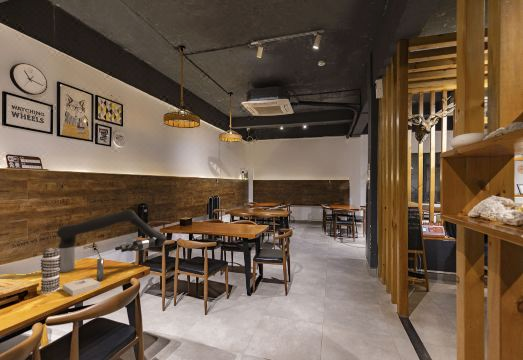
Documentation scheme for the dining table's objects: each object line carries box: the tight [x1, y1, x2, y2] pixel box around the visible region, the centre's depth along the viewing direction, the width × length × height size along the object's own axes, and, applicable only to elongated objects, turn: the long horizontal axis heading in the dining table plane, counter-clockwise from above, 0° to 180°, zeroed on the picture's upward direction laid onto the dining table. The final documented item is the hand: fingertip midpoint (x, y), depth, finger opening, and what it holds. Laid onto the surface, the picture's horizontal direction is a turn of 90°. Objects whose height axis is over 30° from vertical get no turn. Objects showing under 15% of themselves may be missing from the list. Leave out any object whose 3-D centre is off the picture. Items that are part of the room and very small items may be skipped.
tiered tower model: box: [40, 247, 61, 295], centre depth 146 cm, size 9×9×25 cm
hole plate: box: [61, 276, 101, 297], centre depth 149 cm, size 16×14×3 cm
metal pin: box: [96, 258, 104, 283], centre depth 161 cm, size 4×4×14 cm
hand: (118, 249), depth 170 cm, fingers open, 8 cm apart
